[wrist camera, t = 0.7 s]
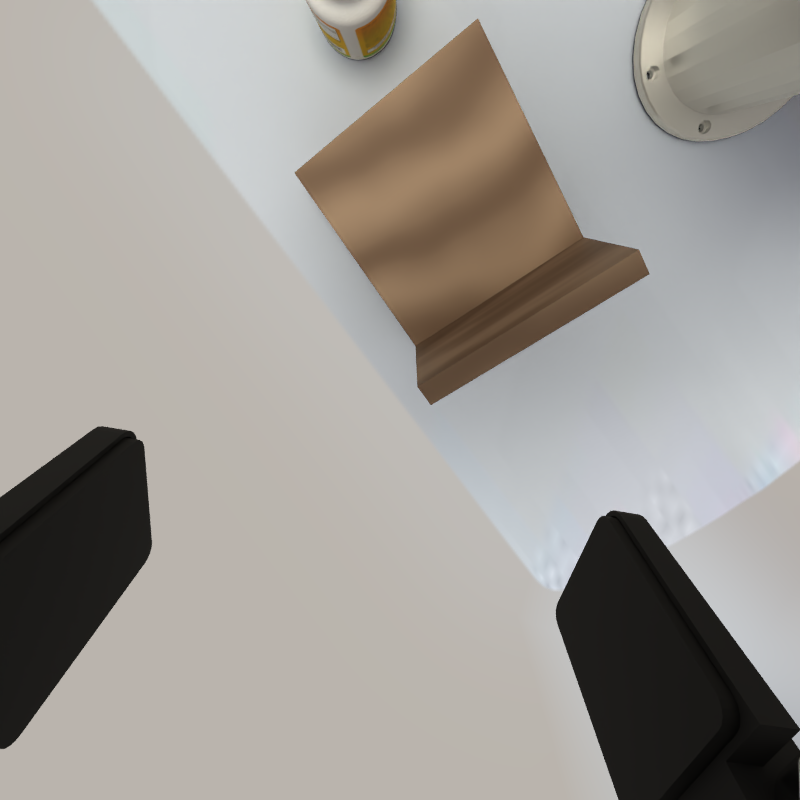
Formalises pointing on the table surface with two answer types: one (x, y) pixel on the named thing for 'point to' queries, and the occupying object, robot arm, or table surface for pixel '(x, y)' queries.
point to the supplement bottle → (355, 25)
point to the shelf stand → (462, 218)
